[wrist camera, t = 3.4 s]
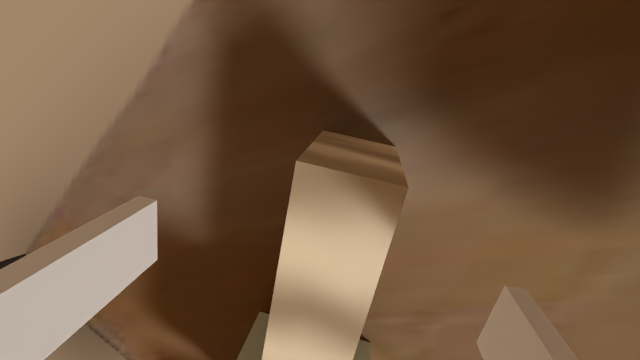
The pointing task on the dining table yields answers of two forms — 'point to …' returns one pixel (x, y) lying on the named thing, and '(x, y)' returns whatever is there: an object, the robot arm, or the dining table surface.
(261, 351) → the socket block
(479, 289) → the dining table surface
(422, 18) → the dining table surface
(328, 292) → the light wood rectangular block
